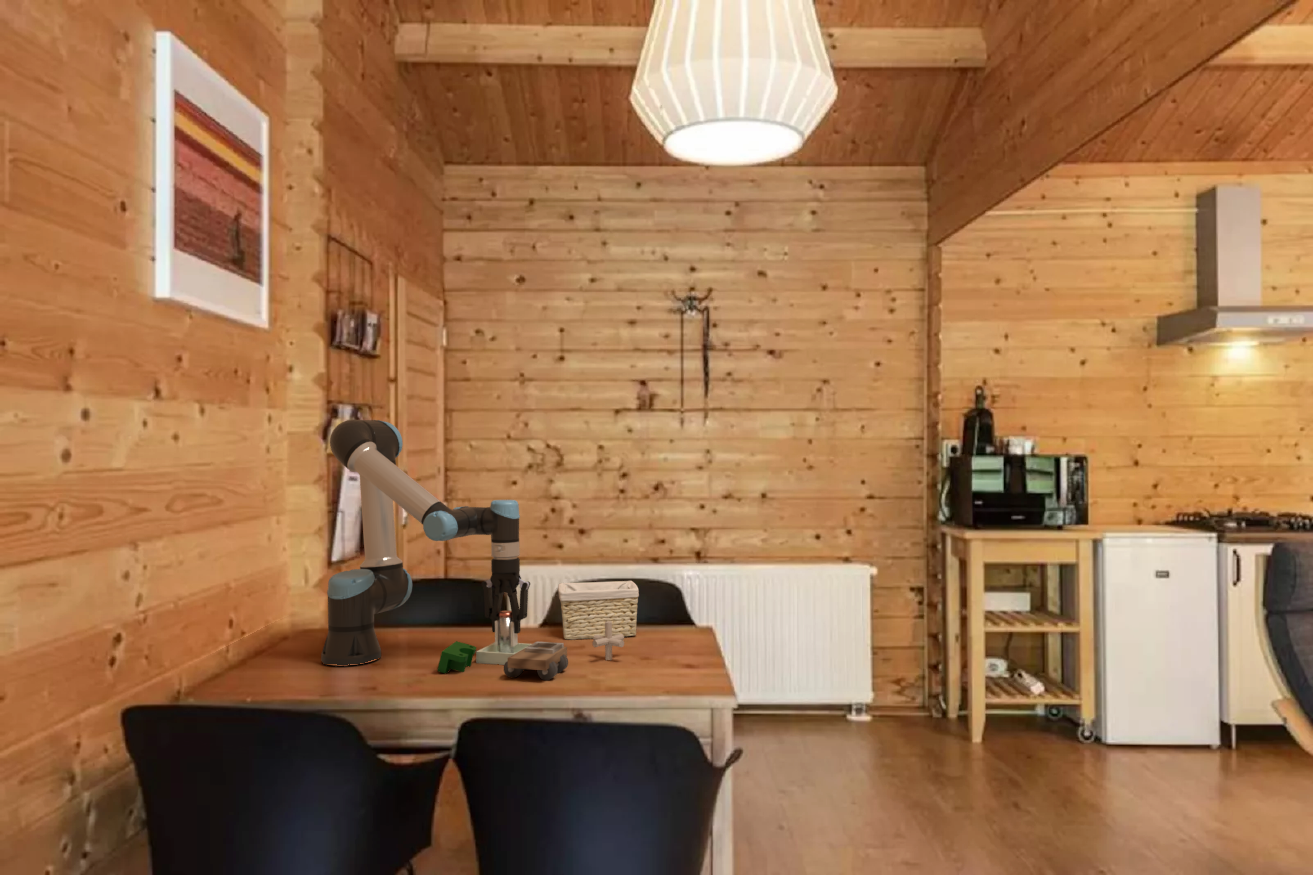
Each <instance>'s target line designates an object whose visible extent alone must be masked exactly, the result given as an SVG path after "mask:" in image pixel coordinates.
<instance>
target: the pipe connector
mask: <svg viewBox="0 0 1313 875" xmlns="http://www.w3.org/2000/svg"><path fill="white" fill-rule="evenodd" d="M624 640H625V636H623V634H619V635H615V636H612V622H610V621H607V622H605V637H604V636H600V635H595V636H594V638H593V641H592V646H593V648H598V647H602V646H605V647H604V649H605V650H604V653H605V656H604V658H605V661H607V660H610V661H612V660H613V646H614V647H619V648H623V647H624V646H625V641H624Z"/></svg>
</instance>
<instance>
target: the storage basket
mask: <svg viewBox="0 0 1313 875" xmlns="http://www.w3.org/2000/svg"><path fill="white" fill-rule="evenodd" d="M557 588H558V589H557V590H558V591H557V592H558V598H559V600H560V609H561V618H562V633H563V638H564V639H565V640H574V641H575V640H577V639H578V640H586V639H588V640H592V639H593V638H594V636H595V635H600V636H604V637H605V622H607V621H610V622H612V636H615V635H619V634H623V636H624V637H631V636H632V637H634V636H636V635H637V622H638V620H637V617H638V615H637V614H638V602H639V597H640V594H639V592H640V591H639V587H638V585H637V584H636V583H635V582H634V581H632V580H624V581H623V580H622V581H618V580H617V581H596V582H595V581H594V582H561V583H559V584H558V587H557Z"/></svg>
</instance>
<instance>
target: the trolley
mask: <svg viewBox="0 0 1313 875" xmlns="http://www.w3.org/2000/svg"><path fill="white" fill-rule="evenodd" d="M564 643H565V642H551V641H535V642H533V643H531V644H532V645H530V646H528V647H526V648H524V649H523V650H521V651H519V652H517V653H515V654H514V655H512V656H510V657H508V661H507V662H506V663H505V664H504V665H503V672H504V674H505V676H507V677H508V678H510V677H515V678H517V677H518V676H520V675H521V674H522V673H523V672H524V671H523V670H526V671H528V670H535V671H536V670H537V675H538V677H539V678H540V679H541V680H543V681H550V680H551V679H553V678H554V677H556V676H557V674H559V673H562V672H563V671H564V670H566V669H567V667H568V666H569V659H568V646H564V645H565V644H564Z"/></svg>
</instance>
